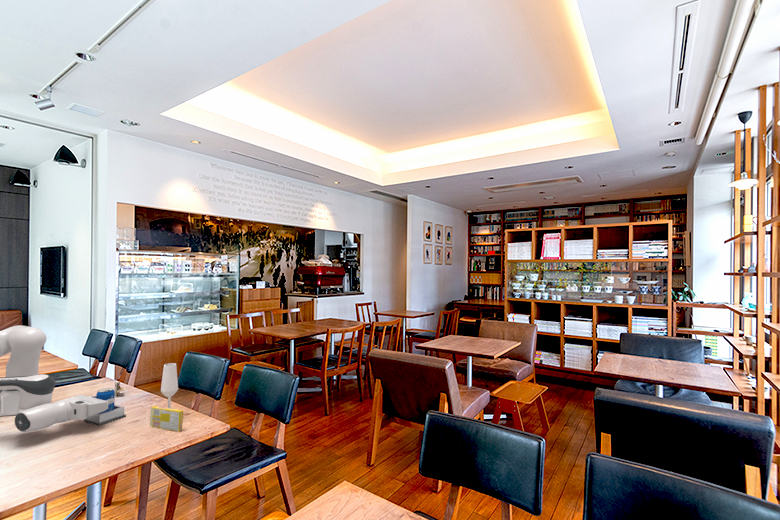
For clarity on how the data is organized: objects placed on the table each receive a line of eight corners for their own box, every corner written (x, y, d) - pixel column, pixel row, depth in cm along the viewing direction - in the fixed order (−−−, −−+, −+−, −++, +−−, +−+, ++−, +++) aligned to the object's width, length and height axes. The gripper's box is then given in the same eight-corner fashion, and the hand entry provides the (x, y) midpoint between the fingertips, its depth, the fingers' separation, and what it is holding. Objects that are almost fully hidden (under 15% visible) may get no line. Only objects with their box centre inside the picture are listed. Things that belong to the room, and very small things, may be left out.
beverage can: (103, 420, 165) (104, 392, 165) (91, 419, 166) (92, 391, 167) (117, 415, 171) (118, 388, 171) (106, 413, 173) (106, 386, 173)
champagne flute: (161, 423, 165) (163, 367, 165) (158, 418, 170) (159, 364, 170) (179, 419, 169) (180, 364, 170) (175, 415, 174) (176, 361, 175)
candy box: (183, 430, 158) (183, 410, 158) (178, 432, 156) (179, 411, 156) (153, 425, 163) (154, 405, 164) (149, 426, 161) (149, 407, 162)
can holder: (83, 421, 166) (83, 411, 166) (110, 413, 176) (111, 403, 176) (98, 426, 162) (99, 415, 162) (125, 417, 172) (126, 406, 172)
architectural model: (122, 394, 204) (122, 380, 205) (124, 397, 199) (124, 383, 199) (114, 395, 202) (114, 381, 202) (116, 398, 197) (116, 384, 197)
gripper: (55, 412, 161) (92, 402, 174) (84, 420, 153) (120, 409, 165) (56, 397, 161) (93, 388, 174) (84, 404, 153) (121, 394, 165)
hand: (106, 398), depth 169 cm, fingers open, 8 cm apart
